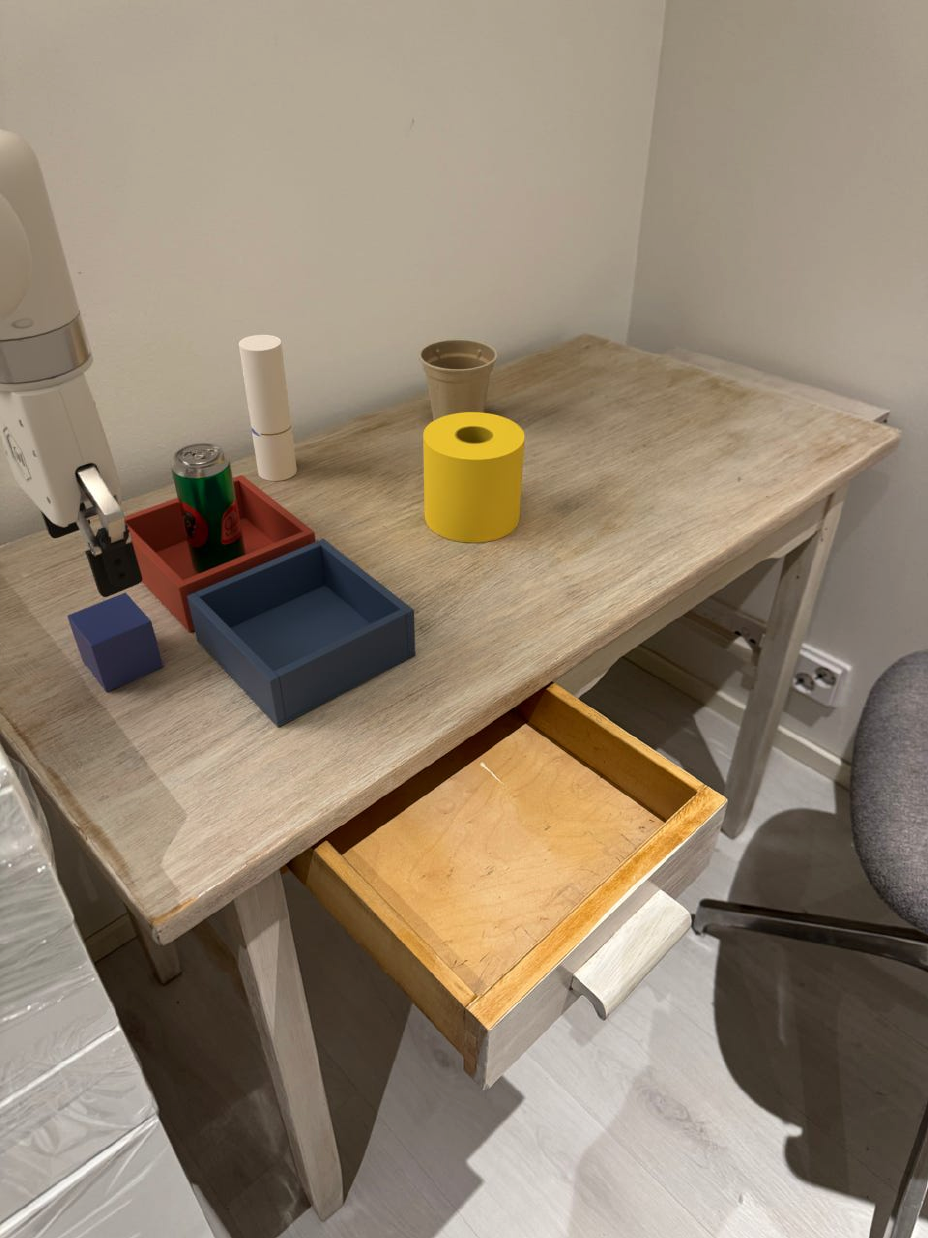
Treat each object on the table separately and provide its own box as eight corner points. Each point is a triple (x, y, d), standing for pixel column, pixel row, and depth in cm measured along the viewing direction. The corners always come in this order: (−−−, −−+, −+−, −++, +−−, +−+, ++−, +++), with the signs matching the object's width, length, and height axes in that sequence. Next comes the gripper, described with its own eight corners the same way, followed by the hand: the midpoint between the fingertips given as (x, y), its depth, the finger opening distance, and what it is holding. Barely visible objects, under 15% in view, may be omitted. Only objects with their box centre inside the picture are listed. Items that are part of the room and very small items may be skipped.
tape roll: (538, 525, 93) (544, 443, 87) (455, 552, 89) (455, 469, 83) (487, 482, 99) (489, 404, 93) (407, 506, 95) (405, 425, 89)
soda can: (241, 581, 84) (221, 468, 76) (187, 580, 84) (161, 467, 76) (251, 550, 88) (233, 440, 80) (200, 550, 88) (177, 439, 80)
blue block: (106, 692, 73) (91, 646, 70) (82, 661, 76) (66, 615, 72) (163, 666, 75) (151, 620, 72) (138, 637, 78) (125, 591, 75)
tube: (303, 465, 102) (288, 337, 93) (285, 483, 99) (268, 353, 89) (270, 459, 103) (251, 332, 94) (251, 477, 100) (230, 347, 90)
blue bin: (278, 728, 70) (270, 681, 67) (196, 641, 78) (186, 595, 75) (415, 655, 77) (414, 609, 74) (327, 582, 85) (323, 538, 82)
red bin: (189, 633, 79) (178, 587, 76) (124, 563, 87) (112, 520, 84) (319, 575, 86) (314, 531, 82) (248, 516, 94) (241, 474, 90)
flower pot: (405, 425, 110) (402, 357, 105) (446, 397, 116) (446, 332, 111) (470, 445, 106) (471, 376, 101) (508, 415, 112) (512, 348, 107)
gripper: (-74, 320, 61) (7, 527, 72) (14, 410, 51) (93, 635, 62) (36, 295, 65) (97, 496, 76) (138, 374, 55) (191, 592, 66)
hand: (95, 558), depth 69 cm, fingers open, 9 cm apart
